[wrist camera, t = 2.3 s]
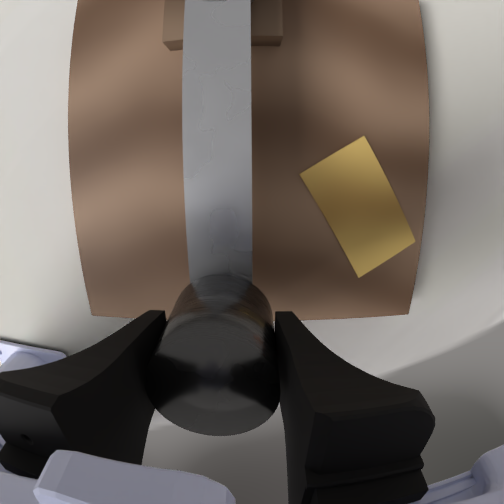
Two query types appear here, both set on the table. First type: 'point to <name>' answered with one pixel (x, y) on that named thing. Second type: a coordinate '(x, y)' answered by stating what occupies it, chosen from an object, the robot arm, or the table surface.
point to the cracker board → (256, 154)
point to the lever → (217, 243)
